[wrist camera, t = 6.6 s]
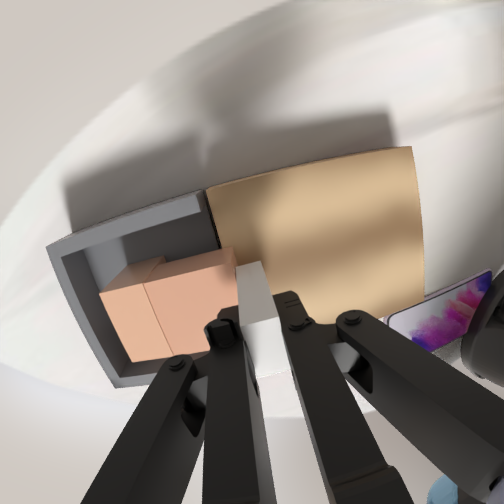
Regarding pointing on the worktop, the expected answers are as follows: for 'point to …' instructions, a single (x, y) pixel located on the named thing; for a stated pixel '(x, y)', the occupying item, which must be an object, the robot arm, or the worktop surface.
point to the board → (331, 231)
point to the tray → (115, 260)
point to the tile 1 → (136, 312)
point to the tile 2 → (192, 296)
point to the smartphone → (442, 313)
